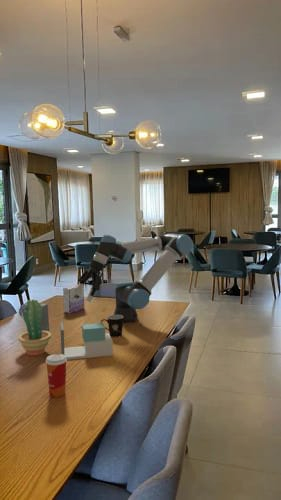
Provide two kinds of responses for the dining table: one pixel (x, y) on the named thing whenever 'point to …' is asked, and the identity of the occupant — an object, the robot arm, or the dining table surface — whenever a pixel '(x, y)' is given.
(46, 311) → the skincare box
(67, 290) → the candy box
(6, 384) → the dining table surface
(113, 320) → the coffee mug
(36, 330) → the potted cactus
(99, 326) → the carton
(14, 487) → the dining table surface
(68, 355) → the display stand
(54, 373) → the paper cup
